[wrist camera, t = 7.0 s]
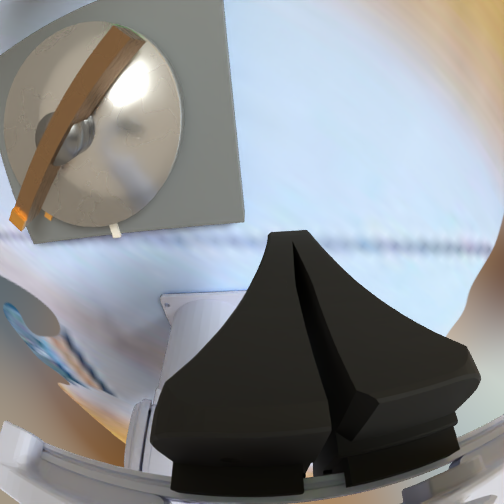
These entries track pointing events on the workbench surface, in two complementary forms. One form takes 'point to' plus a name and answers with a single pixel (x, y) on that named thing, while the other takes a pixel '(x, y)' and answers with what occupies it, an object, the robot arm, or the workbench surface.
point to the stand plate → (196, 116)
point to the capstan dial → (92, 125)
